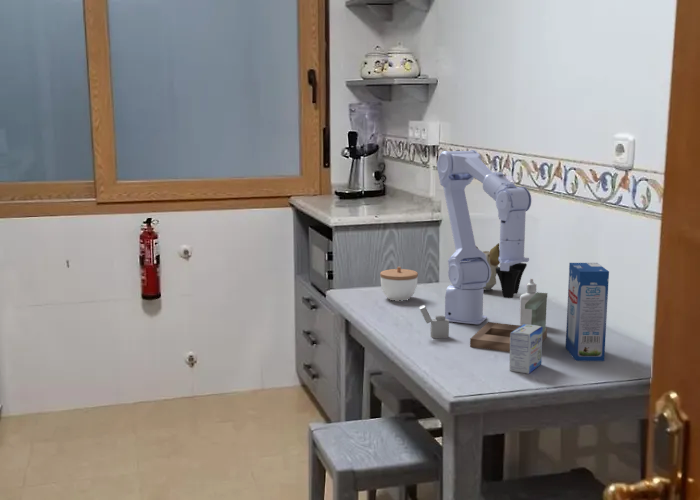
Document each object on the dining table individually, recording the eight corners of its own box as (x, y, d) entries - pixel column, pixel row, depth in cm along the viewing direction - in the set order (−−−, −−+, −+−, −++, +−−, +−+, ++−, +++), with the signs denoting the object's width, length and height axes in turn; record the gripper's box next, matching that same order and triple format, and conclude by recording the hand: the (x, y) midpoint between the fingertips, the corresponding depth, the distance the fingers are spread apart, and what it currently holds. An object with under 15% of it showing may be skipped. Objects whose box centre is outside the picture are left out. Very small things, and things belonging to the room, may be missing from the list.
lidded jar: (420, 295, 243) (420, 264, 241) (414, 304, 233) (414, 271, 231) (383, 293, 246) (384, 262, 244) (376, 302, 235) (377, 269, 234)
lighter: (447, 335, 201) (447, 303, 200) (448, 337, 200) (449, 305, 198) (418, 337, 200) (418, 304, 199) (419, 339, 199) (420, 306, 197)
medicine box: (528, 374, 173) (530, 334, 171) (508, 371, 175) (509, 331, 174) (541, 364, 179) (543, 326, 178) (522, 361, 182) (523, 323, 180)
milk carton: (565, 347, 192) (569, 262, 188) (592, 347, 191) (597, 262, 188) (575, 361, 182) (580, 271, 178) (604, 361, 182) (609, 271, 178)
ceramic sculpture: (508, 290, 250) (510, 240, 247) (494, 295, 243) (496, 244, 241) (477, 285, 257) (478, 237, 254) (463, 290, 250) (464, 241, 247)
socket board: (470, 347, 192) (471, 300, 190) (487, 329, 207) (489, 286, 205) (532, 354, 186) (534, 306, 184) (546, 336, 201) (548, 292, 199)
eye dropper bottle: (538, 328, 207) (539, 281, 205) (517, 326, 210) (517, 279, 208) (544, 324, 211) (545, 278, 209) (523, 322, 214) (523, 276, 212)
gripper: (522, 244, 187) (520, 303, 190) (535, 235, 200) (533, 290, 203) (491, 242, 190) (490, 300, 192) (506, 233, 203) (504, 288, 205)
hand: (510, 295), depth 198 cm, fingers open, 4 cm apart
